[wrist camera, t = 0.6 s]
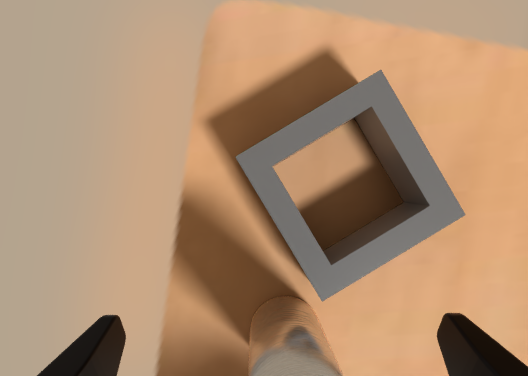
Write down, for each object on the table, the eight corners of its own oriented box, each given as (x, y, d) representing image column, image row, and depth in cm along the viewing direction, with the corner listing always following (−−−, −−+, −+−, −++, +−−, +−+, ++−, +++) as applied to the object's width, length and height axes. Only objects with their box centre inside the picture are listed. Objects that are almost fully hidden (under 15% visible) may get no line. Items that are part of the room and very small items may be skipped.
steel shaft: (332, 342, 23) (389, 461, 13) (273, 378, 23) (284, 525, 13) (297, 282, 23) (327, 358, 13) (237, 318, 23) (221, 422, 13)
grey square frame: (434, 210, 23) (465, 214, 20) (312, 283, 23) (322, 301, 20) (362, 86, 23) (380, 69, 20) (238, 160, 23) (235, 156, 19)
